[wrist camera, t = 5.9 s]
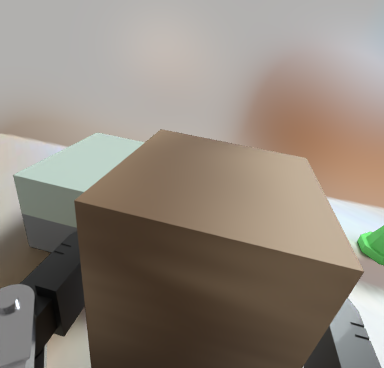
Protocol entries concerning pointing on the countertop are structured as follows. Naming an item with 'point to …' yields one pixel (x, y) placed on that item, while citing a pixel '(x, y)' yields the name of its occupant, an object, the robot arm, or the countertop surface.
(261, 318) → the walnut block
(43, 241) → the pale green grey block
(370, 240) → the game piece
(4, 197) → the countertop surface
